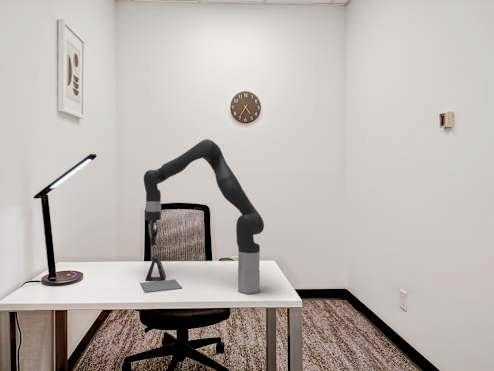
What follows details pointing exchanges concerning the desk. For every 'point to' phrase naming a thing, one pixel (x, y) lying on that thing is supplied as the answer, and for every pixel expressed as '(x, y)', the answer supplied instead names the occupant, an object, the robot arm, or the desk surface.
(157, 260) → the phone stand
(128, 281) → the desk surface
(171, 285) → the mat
